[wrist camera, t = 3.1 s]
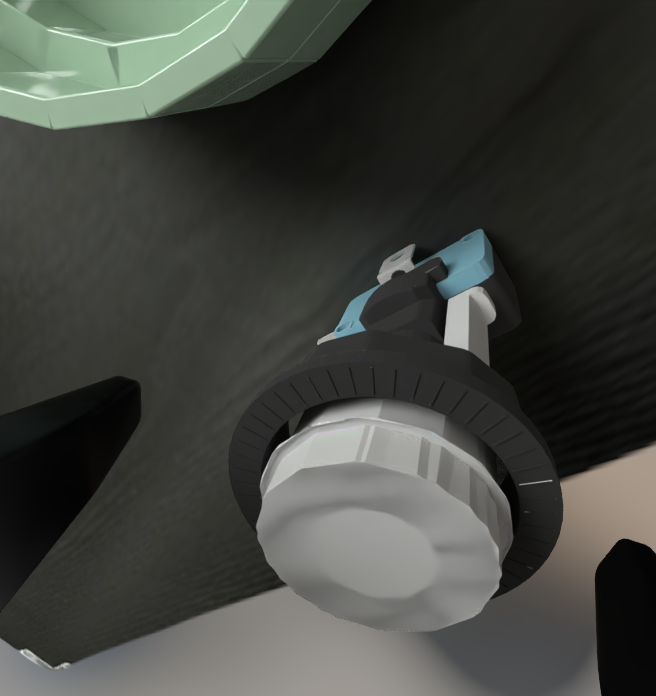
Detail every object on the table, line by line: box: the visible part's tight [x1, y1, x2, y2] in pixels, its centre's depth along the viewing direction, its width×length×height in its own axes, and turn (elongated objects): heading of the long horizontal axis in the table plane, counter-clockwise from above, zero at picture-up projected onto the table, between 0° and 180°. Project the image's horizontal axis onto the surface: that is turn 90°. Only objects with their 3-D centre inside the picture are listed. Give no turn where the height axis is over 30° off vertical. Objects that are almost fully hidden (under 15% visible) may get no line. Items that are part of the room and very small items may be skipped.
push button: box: [229, 229, 563, 631], centre depth 12 cm, size 7×5×10 cm
